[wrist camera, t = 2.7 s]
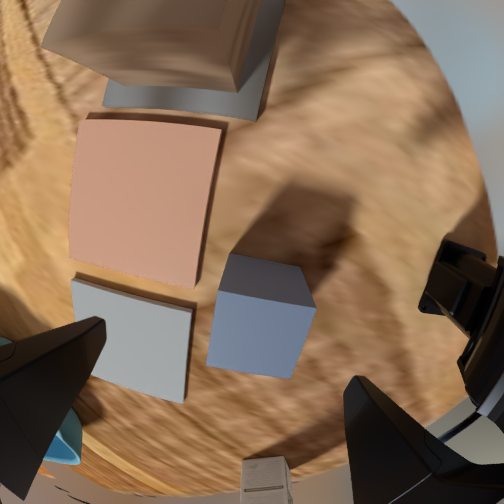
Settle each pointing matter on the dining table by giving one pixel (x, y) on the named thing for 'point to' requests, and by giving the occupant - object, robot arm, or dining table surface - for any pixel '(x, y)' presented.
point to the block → (260, 317)
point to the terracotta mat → (142, 197)
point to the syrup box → (266, 481)
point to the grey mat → (138, 339)
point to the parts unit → (172, 51)
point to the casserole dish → (64, 437)
